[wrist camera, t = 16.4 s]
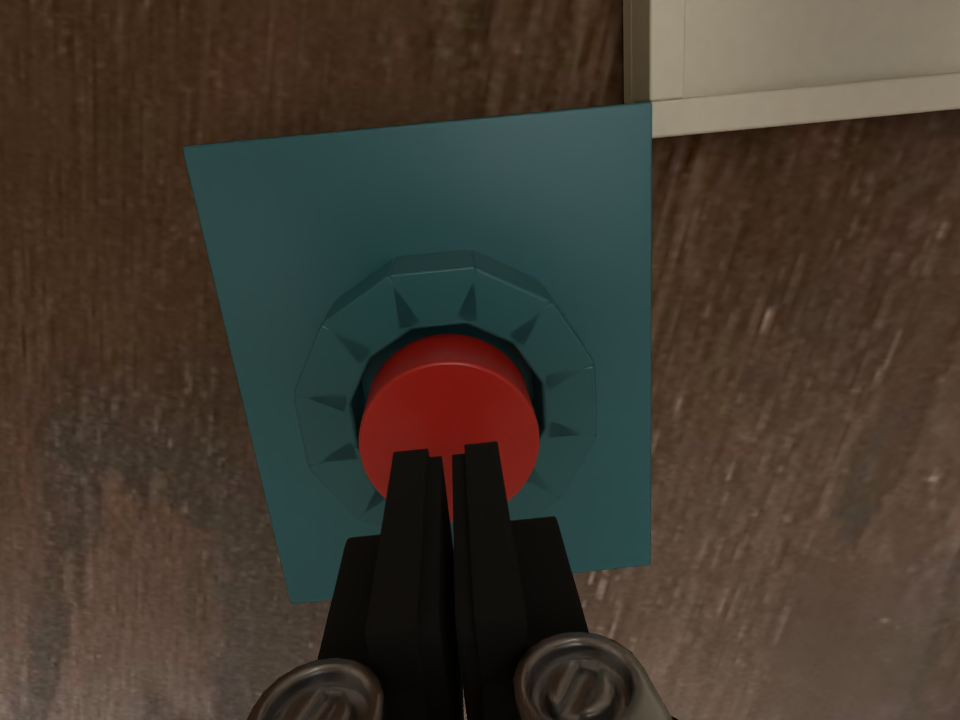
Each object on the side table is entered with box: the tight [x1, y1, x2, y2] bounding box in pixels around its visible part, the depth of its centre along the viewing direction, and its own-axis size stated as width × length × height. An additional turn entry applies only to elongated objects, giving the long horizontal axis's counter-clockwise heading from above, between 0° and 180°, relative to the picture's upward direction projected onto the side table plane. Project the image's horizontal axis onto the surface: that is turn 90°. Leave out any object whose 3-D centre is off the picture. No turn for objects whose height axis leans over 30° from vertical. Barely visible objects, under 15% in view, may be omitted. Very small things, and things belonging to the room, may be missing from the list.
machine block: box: [183, 102, 652, 604], centre depth 16 cm, size 12×10×5 cm
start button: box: [358, 334, 539, 522], centre depth 14 cm, size 4×4×2 cm
